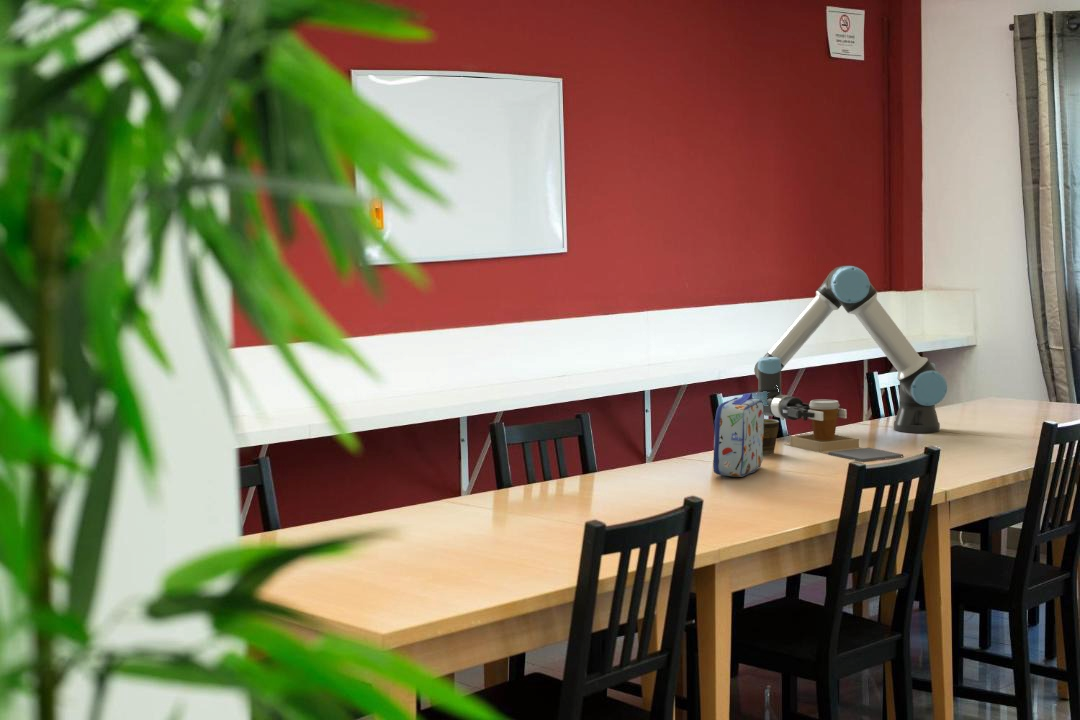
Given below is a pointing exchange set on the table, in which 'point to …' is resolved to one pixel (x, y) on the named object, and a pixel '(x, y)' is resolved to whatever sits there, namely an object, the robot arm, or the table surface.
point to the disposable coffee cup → (825, 418)
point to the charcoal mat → (865, 454)
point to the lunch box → (738, 436)
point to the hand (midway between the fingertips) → (834, 415)
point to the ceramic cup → (769, 436)
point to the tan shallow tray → (824, 443)
